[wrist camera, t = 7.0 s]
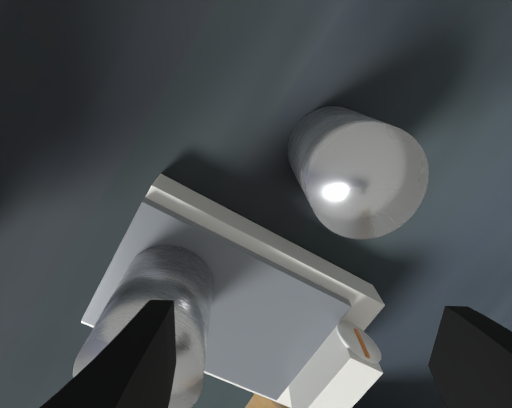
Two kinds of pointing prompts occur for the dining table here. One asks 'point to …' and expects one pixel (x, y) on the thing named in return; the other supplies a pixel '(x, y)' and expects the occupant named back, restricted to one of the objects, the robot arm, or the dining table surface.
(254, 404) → the sandwich container
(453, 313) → the robot arm
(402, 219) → the cylinder
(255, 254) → the grey boxy piece
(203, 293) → the steel weight
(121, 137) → the dining table surface
